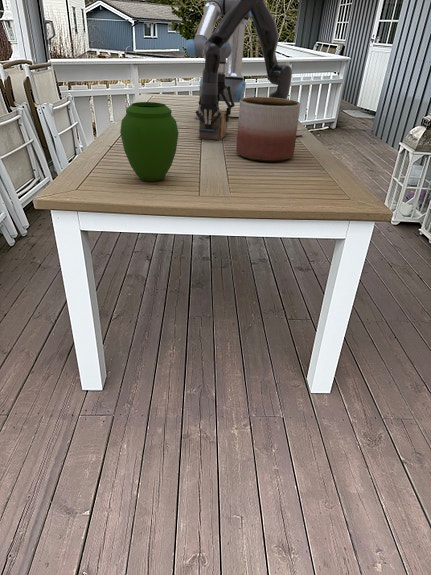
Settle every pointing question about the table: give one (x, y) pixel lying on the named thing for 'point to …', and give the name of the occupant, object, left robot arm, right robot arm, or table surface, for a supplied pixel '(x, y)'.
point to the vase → (149, 139)
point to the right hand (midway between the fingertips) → (207, 132)
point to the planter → (267, 128)
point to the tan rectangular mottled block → (222, 125)
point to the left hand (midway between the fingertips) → (215, 120)
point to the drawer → (209, 132)
